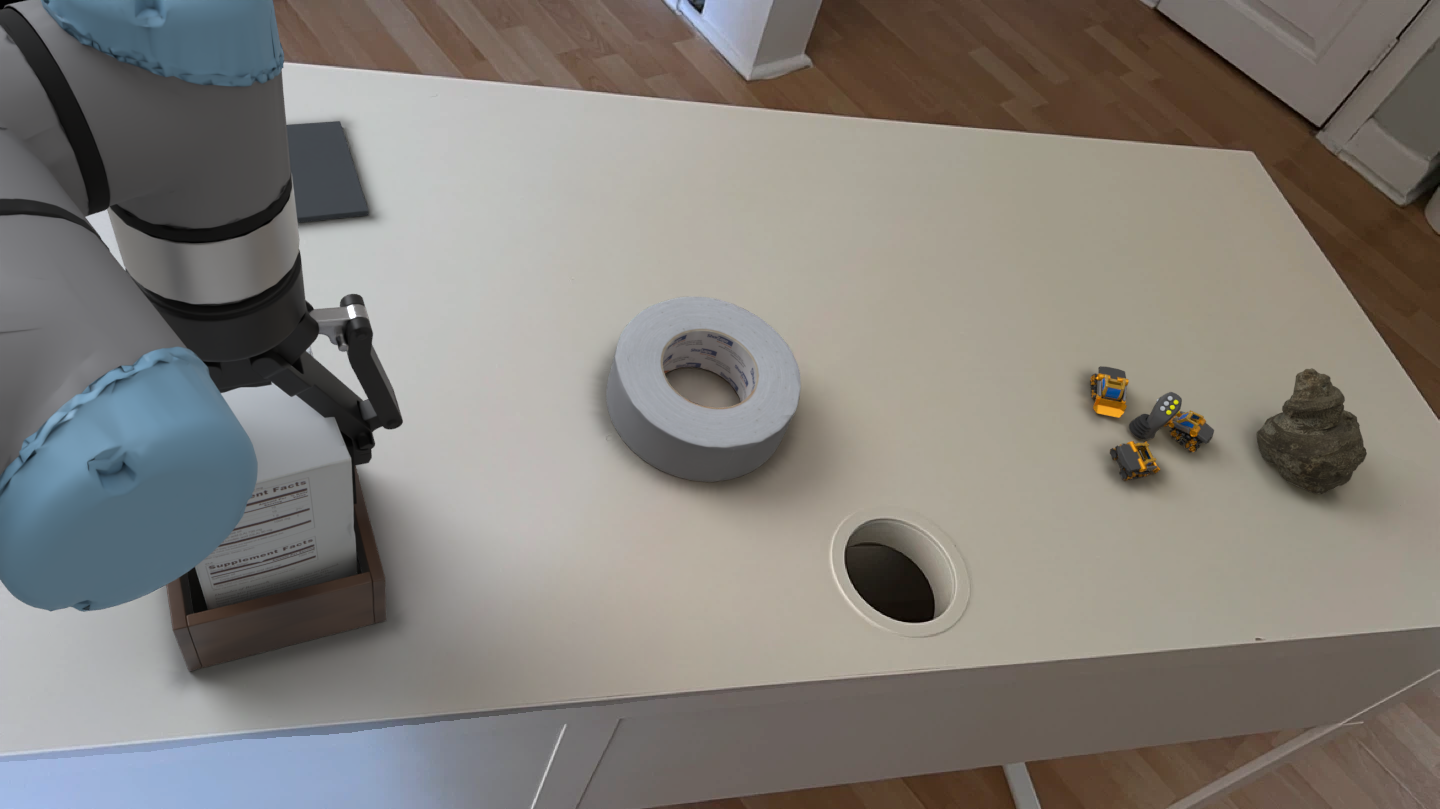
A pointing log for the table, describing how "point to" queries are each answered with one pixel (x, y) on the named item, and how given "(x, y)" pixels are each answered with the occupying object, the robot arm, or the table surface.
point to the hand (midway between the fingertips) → (262, 504)
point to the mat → (323, 173)
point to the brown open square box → (283, 609)
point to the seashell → (1313, 436)
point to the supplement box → (286, 504)
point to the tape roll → (684, 429)
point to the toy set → (1145, 423)
